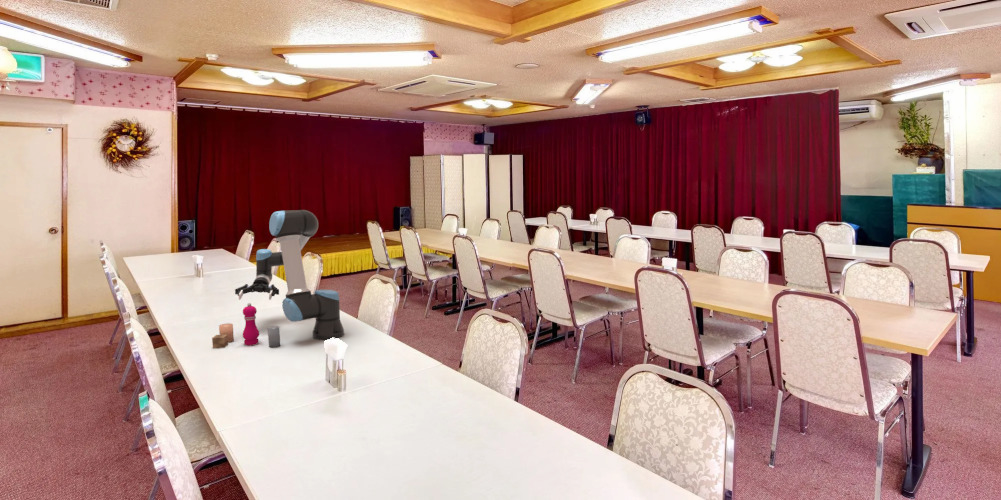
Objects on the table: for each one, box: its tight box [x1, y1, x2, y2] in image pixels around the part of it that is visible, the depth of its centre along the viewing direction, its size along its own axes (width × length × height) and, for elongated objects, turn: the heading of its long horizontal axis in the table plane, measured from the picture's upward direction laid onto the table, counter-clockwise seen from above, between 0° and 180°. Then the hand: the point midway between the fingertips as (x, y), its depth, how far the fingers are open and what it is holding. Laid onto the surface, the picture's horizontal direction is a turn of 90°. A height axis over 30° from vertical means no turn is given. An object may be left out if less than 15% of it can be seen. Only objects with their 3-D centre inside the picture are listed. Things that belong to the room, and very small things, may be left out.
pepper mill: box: [242, 302, 260, 346], centre depth 256 cm, size 7×7×20 cm
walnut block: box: [211, 334, 229, 349], centre depth 253 cm, size 5×5×5 cm
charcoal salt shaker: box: [267, 325, 281, 349], centre depth 254 cm, size 5×5×9 cm
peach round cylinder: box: [218, 323, 235, 344], centre depth 261 cm, size 6×6×8 cm
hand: (254, 297), depth 262 cm, fingers open, 13 cm apart
